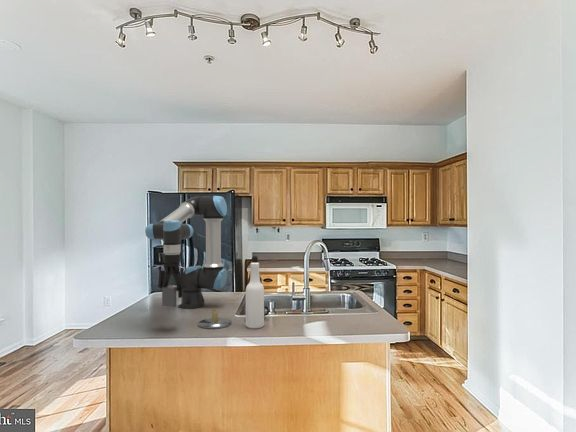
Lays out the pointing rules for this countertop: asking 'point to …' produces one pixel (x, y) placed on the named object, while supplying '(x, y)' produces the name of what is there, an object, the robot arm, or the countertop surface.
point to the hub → (214, 322)
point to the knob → (170, 296)
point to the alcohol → (254, 299)
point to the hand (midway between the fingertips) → (172, 303)
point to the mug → (264, 310)
